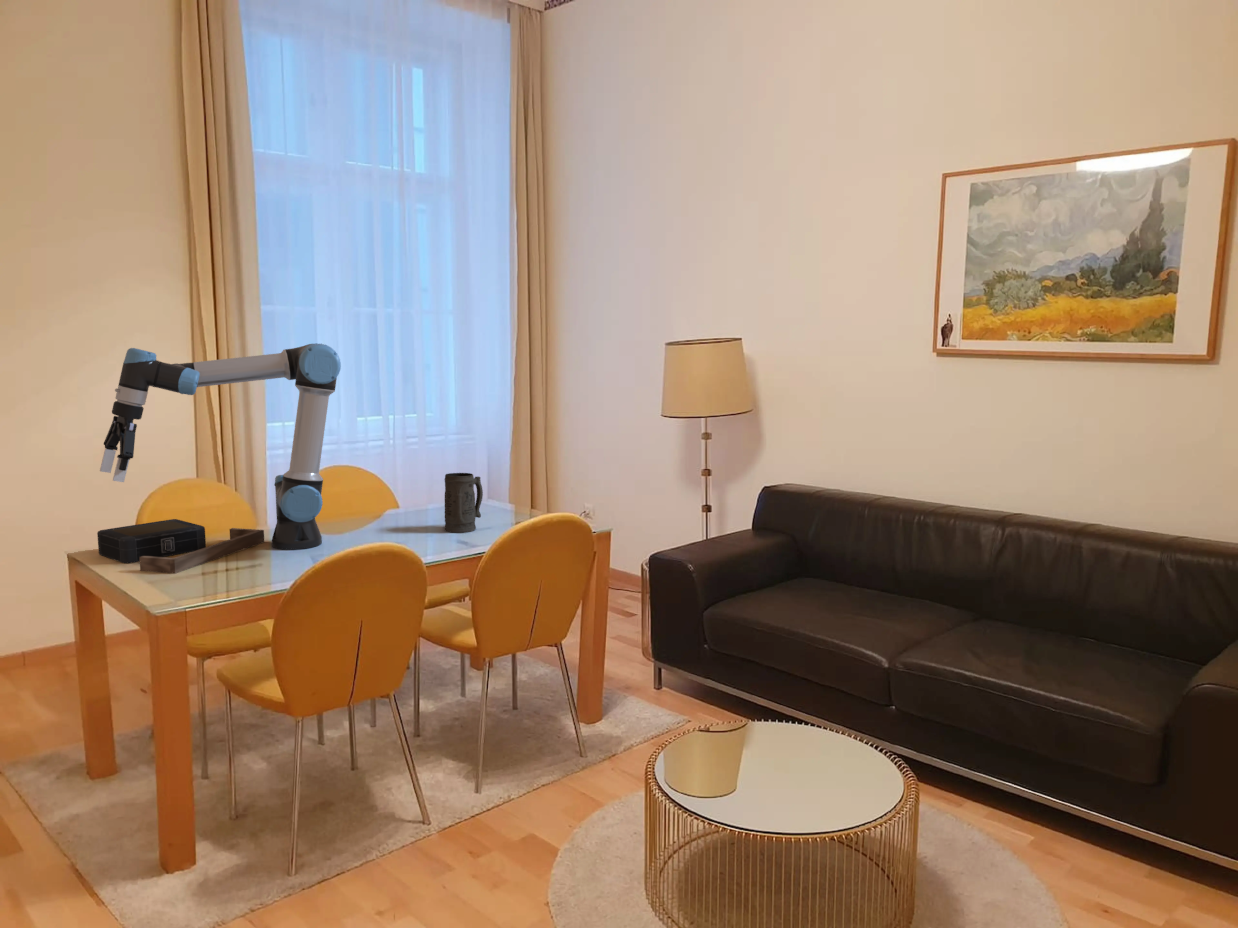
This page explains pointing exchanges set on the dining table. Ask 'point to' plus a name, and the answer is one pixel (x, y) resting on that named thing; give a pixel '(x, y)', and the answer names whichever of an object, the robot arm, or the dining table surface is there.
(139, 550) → the cash box
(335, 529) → the dining table surface
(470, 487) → the beer stein
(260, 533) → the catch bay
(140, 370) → the robot arm
